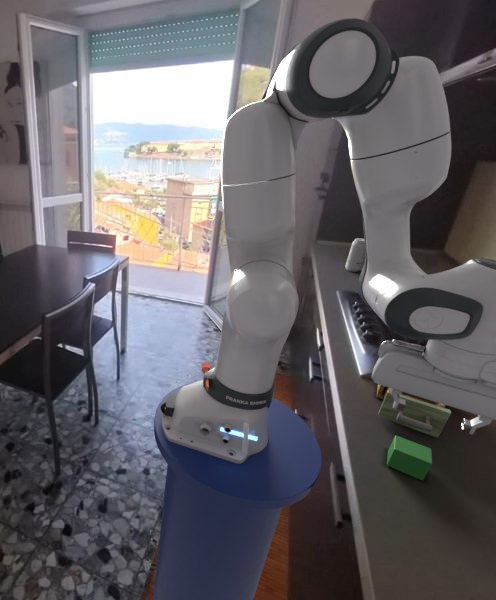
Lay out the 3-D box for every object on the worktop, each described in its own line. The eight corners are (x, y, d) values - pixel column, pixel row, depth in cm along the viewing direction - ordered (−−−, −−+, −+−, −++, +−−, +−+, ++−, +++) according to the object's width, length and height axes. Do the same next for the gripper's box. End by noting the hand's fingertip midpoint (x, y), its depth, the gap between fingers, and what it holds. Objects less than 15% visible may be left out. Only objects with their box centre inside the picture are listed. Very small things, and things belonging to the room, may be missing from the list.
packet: (423, 480, 67) (432, 463, 65) (386, 465, 70) (394, 449, 68) (422, 465, 70) (431, 448, 68) (387, 451, 73) (395, 434, 71)
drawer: (439, 452, 72) (453, 427, 69) (376, 428, 78) (386, 404, 75) (435, 406, 84) (447, 382, 81) (381, 388, 90) (390, 366, 87)
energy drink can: (357, 273, 167) (367, 242, 161) (342, 269, 171) (351, 239, 165) (361, 270, 171) (370, 239, 165) (346, 267, 175) (355, 237, 169)
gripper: (382, 343, 63) (359, 404, 69) (558, 388, 51) (513, 457, 57) (384, 329, 67) (363, 388, 73) (546, 367, 56) (506, 434, 61)
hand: (430, 419), depth 65 cm, fingers open, 8 cm apart
